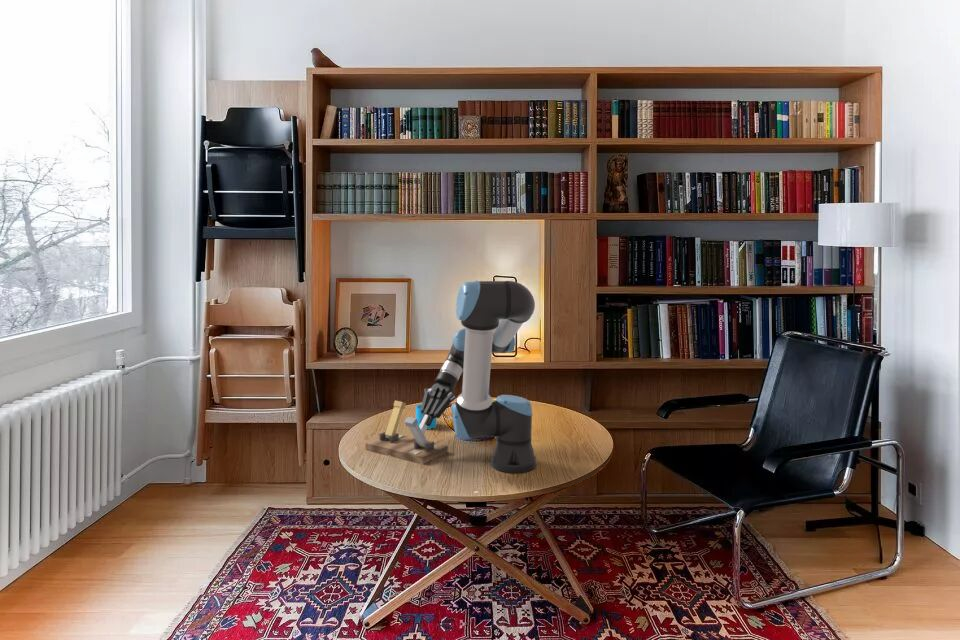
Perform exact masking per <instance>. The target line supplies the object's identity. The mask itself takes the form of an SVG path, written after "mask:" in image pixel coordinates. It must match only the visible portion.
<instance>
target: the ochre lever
mask: <svg viewBox="0 0 960 640" xmlns="http://www.w3.org/2000/svg"><path fill="white" fill-rule="evenodd" d="M406 406H407V403H406V402H403V401H401V400H394V402H393V408H392V409H393V410H392V412H391V415H390V418H389V421H388V424H387V426H386V431H385V432H386V433H385V438H387V439H390V436H392V435H394V434H397V430H398V427H399V423H400V421H401V417H402V415H403V411H404V410H405V409H406Z"/></svg>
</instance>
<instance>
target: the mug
mask: <svg viewBox="0 0 960 640" xmlns="http://www.w3.org/2000/svg"><path fill="white" fill-rule="evenodd" d="M421 405H422V404H418V405H416V406H415V418H416V419H417V421H418V423H417V424H418V425H420V420H421V418H422V416H423V414H422V413H421V412H420V409H421ZM434 427H437V418H434V419H433V421H432V423H431V425H430V426H428V427H427V429H429V430H431V429H430V428H434ZM434 429H435V428H434Z"/></svg>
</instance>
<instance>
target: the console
mask: <svg viewBox="0 0 960 640" xmlns="http://www.w3.org/2000/svg"><path fill="white" fill-rule="evenodd" d="M385 433H386V431H384V432H381V433H379V437H377V438H375V439H372V440H370V441H367V442H365V450H366V451H370V452H373V453H377V452H378V453H377V454H381V453H382V455H385V454H386V455H385V456H389V455H390V457H394V458H396V457H398V458H397V459H400V458H401V459H402V460H404V459H405V460H404V461H408V460H409V462H413V463H417V464H420V463H421V465H424V464H426V463H428V462H429V463H430V462H431V461H433V460H435V459H437V458H439V457H441V456H444V455H445V454H447V453H448V450H449V449H448V445H446V444H443V443H438V442H435V441H429V440H427V442H428V443H427V444H425V447H421V446H419V445H418V443H417V441H416V439H415V438H414V437H411V436H408V435H403V434H399V433H395V434H394V435H392V436H390V439H387V438H385ZM430 460H431V461H430Z"/></svg>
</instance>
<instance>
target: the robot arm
mask: <svg viewBox="0 0 960 640" xmlns="http://www.w3.org/2000/svg"><path fill="white" fill-rule="evenodd" d="M455 306H456V309H455V314H456V318H457V319H458V321H460V324H461V326H462V328H460V329H459V330H458V331H457V332H456V333H455V335H454V337H453V340H452V345H451V347H450V350H449V352H448V355H447V357H446V359H445V360H444V363H443V364H442V365H441V367H440V370H439V372H438V374H437V376H436V377H435V380H434V381H435V382H434V384H433V385H432V386H431V387H430V388H424V390H423V391H424V395H423V398H422V402H421V404H420V405H421V409H420V412H421V413H422V414H423V416H422V418H421V420H420V425H419V427H420V429H421V431H422V433H423V434H424V435H425V433H426V432H427V430H426V429H427V427H428V426H430V425H431V423H432V421H433V419H434V418H436V419H440V418H441V417H442V415H443V413H444V412H445V411H446V410H447V408H448V407H449V406H450V404H451V407H450V408H451V416H452V424H453V428H454V432H455V435H456V437H457V438H458V439H468V440H469V439H470V440H471V439H476V438H477V439H479V438H481V439H482V438H492V437H493V438H495V437H496V442H495V446H494V449H493V452H492V453H493V454H492V455H491V458H490V459H491V460H490V462H491V463H490V464H491V467H492V468H493V469H494V470H497V471H499V472H502V473H511V474H520V473H526V472H530V471H533V470H534V469H536V467H537V457H536V456H535V452H534V447H533V445H532V434H533V433H532V427H533V425H532V422H533V421H532V420H533V411H532V410H533V408H532V407H533V406H532V402H530V400H529V399H527V398H525V397H521V396H517V395H512V394H501V395H498V396H497V397H496V400H494V401H493V397H492V396H491V395H490V394H489V393H490V381H491V380H490V379H491V369H492V368H491V367H492V366H491V364H492V354H506V353H512V352H513V351H514V350H515V347H516V338H515V337H516V335H517V332H518V331H519V330H520V328H521V327H522V325H523V324H524V323H527V322H528V321H529V320H530V319H531V317H532V315H533V314H534V311H535V308H536V307H535V306H536V305H535V298H534V295H533V294H532V292H531V291H530V289H528V287H526V286H525V285H523V284H521V283H519V282H517V281H514V280H486V281H484V280H474V281H465V282H464V283H462V284H461V286H459V289H458V292H457V296H456V304H455ZM461 376H462V387H461V392H460V394H459V395H458V396H455V394H454V392H453V391H454V390H455V388H456V386H457V384H458V381H459V379H460V377H461ZM455 399H456V402H453V401H455ZM452 402H453V403H452Z"/></svg>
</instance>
